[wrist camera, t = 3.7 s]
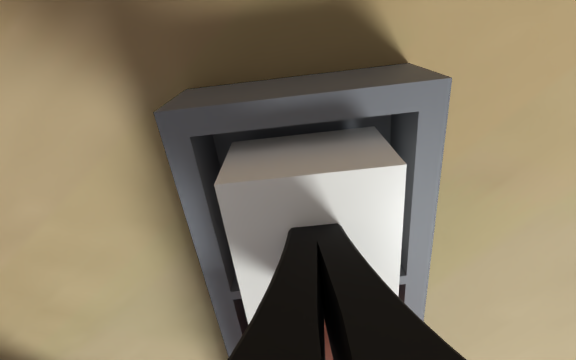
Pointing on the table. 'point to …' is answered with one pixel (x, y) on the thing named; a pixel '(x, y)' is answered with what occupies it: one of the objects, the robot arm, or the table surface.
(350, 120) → the key housing
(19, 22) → the table surface
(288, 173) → the ivory key
